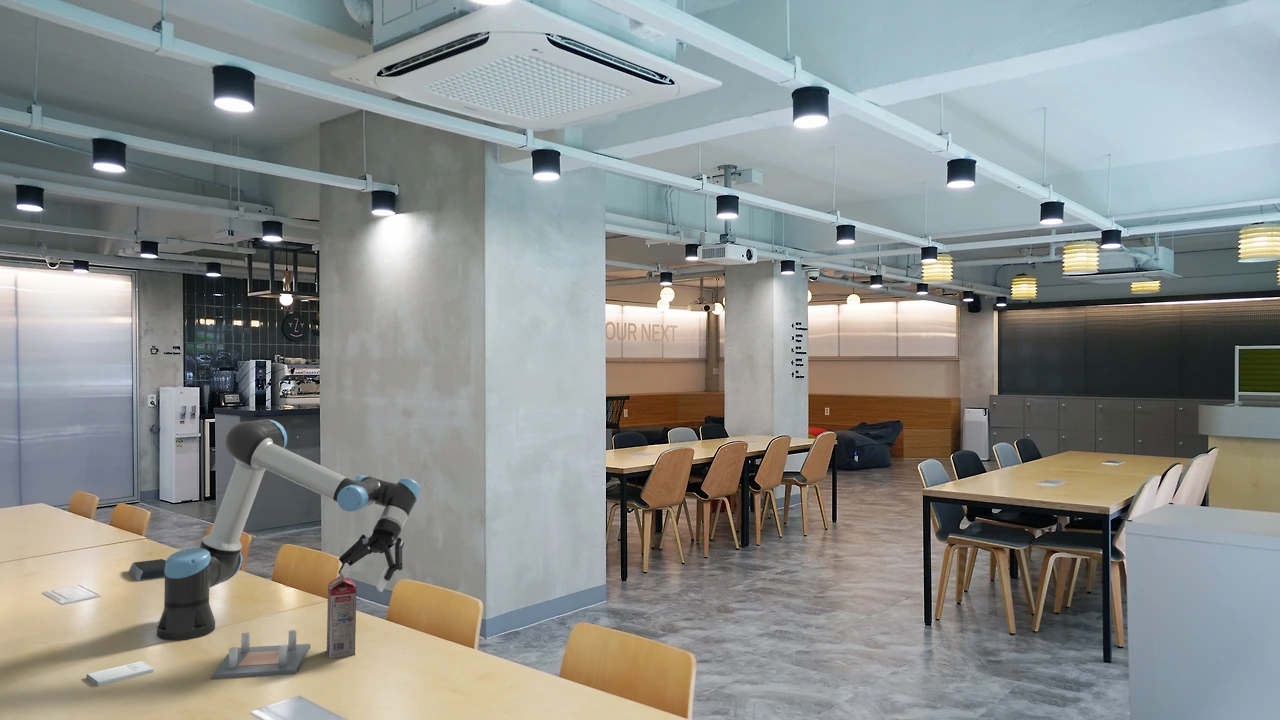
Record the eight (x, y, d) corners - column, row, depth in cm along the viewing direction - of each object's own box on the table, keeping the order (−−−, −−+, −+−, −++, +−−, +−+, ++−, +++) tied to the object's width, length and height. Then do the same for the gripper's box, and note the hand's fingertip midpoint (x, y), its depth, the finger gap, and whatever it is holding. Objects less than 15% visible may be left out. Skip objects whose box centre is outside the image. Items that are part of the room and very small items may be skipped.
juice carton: (329, 658, 218) (331, 577, 219) (326, 650, 224) (328, 571, 225) (355, 654, 221) (356, 574, 222) (351, 647, 227) (353, 569, 228)
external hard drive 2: (86, 679, 202) (141, 666, 212) (97, 688, 197) (153, 673, 207) (86, 673, 202) (141, 659, 212) (98, 681, 197) (153, 667, 207)
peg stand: (211, 678, 203) (211, 654, 203) (233, 651, 222) (233, 629, 223) (295, 673, 207) (296, 650, 207) (310, 647, 227) (310, 625, 227)
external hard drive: (135, 583, 292) (136, 571, 292) (126, 572, 307) (127, 561, 307) (176, 577, 301) (176, 566, 301) (165, 567, 315) (166, 556, 315)
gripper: (431, 534, 242) (401, 598, 227) (360, 529, 249) (327, 590, 234) (421, 520, 236) (390, 584, 222) (349, 514, 244) (315, 576, 229)
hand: (358, 587), depth 228 cm, fingers open, 13 cm apart
